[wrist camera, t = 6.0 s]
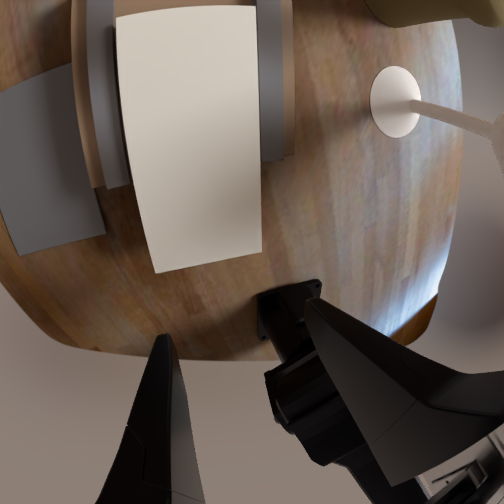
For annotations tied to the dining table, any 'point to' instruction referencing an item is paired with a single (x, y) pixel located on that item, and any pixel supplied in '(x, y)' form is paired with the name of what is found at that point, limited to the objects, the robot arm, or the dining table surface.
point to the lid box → (108, 91)
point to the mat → (45, 165)
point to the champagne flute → (422, 110)
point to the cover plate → (193, 130)
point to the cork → (437, 11)
